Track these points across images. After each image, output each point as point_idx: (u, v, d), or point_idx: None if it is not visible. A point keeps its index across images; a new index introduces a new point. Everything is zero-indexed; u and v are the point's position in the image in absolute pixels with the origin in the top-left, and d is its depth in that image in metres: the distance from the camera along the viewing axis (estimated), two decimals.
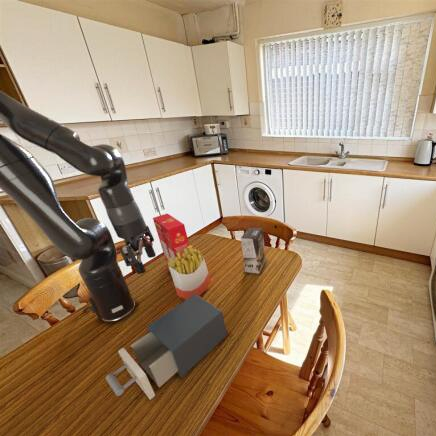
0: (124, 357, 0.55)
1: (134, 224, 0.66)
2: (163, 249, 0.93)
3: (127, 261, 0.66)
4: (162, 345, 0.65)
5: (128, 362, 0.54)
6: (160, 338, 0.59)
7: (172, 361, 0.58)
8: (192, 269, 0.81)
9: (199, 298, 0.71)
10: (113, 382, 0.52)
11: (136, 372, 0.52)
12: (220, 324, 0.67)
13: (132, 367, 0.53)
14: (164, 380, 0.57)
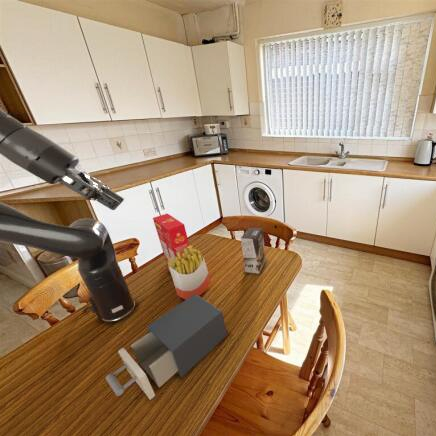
0: (124, 357, 0.55)
1: (53, 150, 0.48)
2: (163, 249, 0.93)
3: (83, 193, 0.48)
4: (162, 345, 0.65)
5: (128, 362, 0.54)
6: (160, 338, 0.59)
7: (172, 361, 0.58)
8: (192, 269, 0.81)
9: (199, 298, 0.71)
10: (113, 382, 0.52)
11: (136, 372, 0.52)
12: (220, 324, 0.67)
13: (132, 367, 0.53)
14: (164, 380, 0.57)
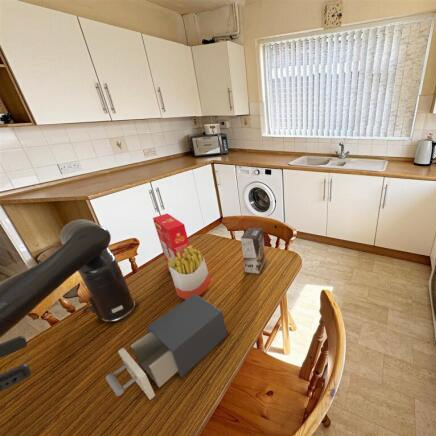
0: (124, 357, 0.55)
1: None
2: (163, 249, 0.93)
3: None
4: (162, 345, 0.65)
5: (128, 362, 0.54)
6: (160, 338, 0.59)
7: (172, 361, 0.58)
8: (192, 269, 0.81)
9: (199, 298, 0.71)
10: (113, 382, 0.52)
11: (136, 372, 0.52)
12: (220, 324, 0.67)
13: (132, 367, 0.53)
14: (164, 380, 0.57)
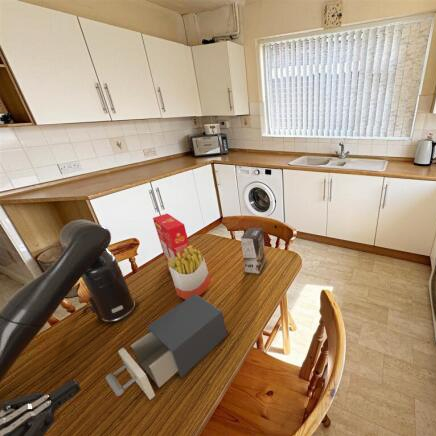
0: (124, 357, 0.55)
1: None
2: (163, 249, 0.93)
3: (45, 426, 0.41)
4: (162, 345, 0.65)
5: (128, 362, 0.54)
6: (160, 338, 0.59)
7: (172, 361, 0.58)
8: (192, 269, 0.81)
9: (199, 298, 0.71)
10: (113, 382, 0.52)
11: (136, 372, 0.52)
12: (220, 324, 0.67)
13: (132, 367, 0.53)
14: (164, 380, 0.57)
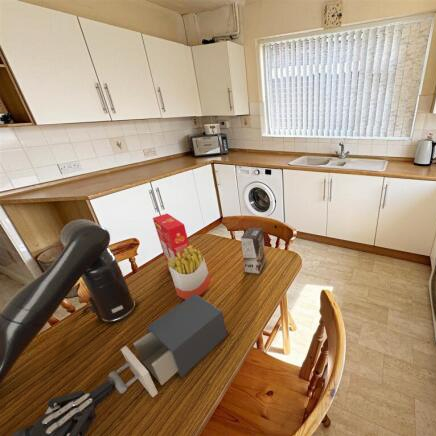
0: (127, 355, 0.56)
1: None
2: (163, 249, 0.92)
3: (89, 421, 0.46)
4: None
5: (131, 360, 0.55)
6: (160, 338, 0.59)
7: None
8: (192, 269, 0.81)
9: (199, 298, 0.71)
10: (116, 380, 0.52)
11: (139, 370, 0.52)
12: (220, 324, 0.67)
13: (135, 365, 0.54)
14: (166, 378, 0.57)
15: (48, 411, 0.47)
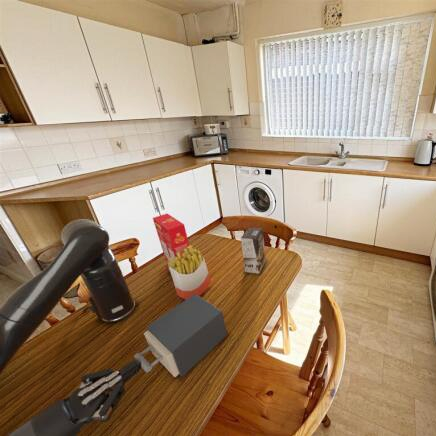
0: (150, 338, 0.60)
1: (44, 433, 0.42)
2: (163, 249, 0.92)
3: (119, 396, 0.50)
4: None
5: (154, 343, 0.59)
6: (160, 338, 0.59)
7: None
8: (192, 269, 0.81)
9: (199, 298, 0.71)
10: (141, 360, 0.56)
11: (163, 351, 0.56)
12: (220, 324, 0.67)
13: (158, 347, 0.57)
14: None
15: (81, 386, 0.51)
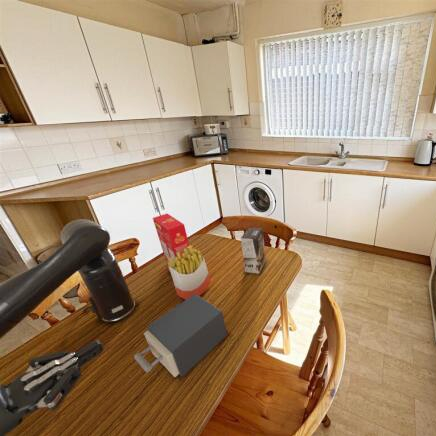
0: (150, 338, 0.60)
1: None
2: (163, 249, 0.92)
3: (73, 380, 0.43)
4: None
5: (154, 343, 0.59)
6: (160, 338, 0.59)
7: None
8: (192, 269, 0.81)
9: (199, 298, 0.71)
10: (141, 360, 0.56)
11: (163, 351, 0.56)
12: (220, 324, 0.67)
13: (158, 347, 0.57)
14: None
15: (29, 370, 0.43)
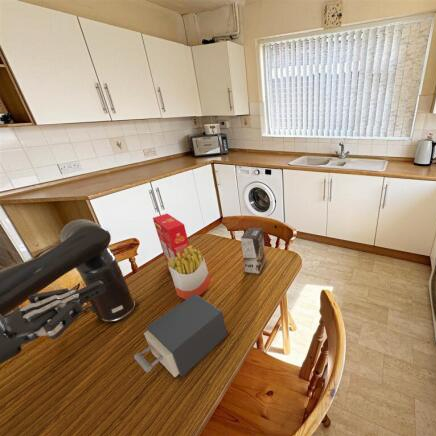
0: (150, 338, 0.60)
1: None
2: (163, 249, 0.92)
3: (75, 314, 0.41)
4: None
5: (154, 343, 0.59)
6: (160, 338, 0.59)
7: None
8: (192, 269, 0.81)
9: (199, 298, 0.71)
10: (141, 360, 0.56)
11: (163, 351, 0.56)
12: (220, 324, 0.67)
13: (158, 347, 0.57)
14: None
15: (28, 305, 0.41)
